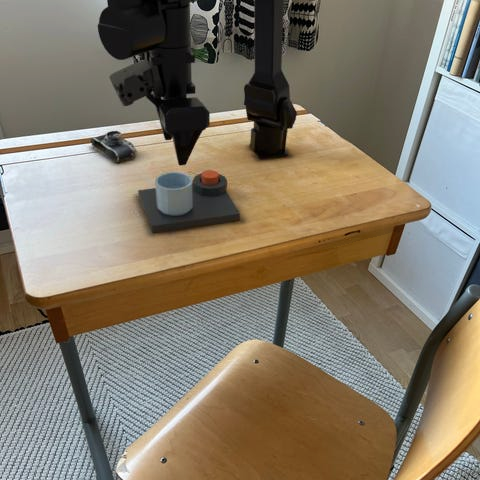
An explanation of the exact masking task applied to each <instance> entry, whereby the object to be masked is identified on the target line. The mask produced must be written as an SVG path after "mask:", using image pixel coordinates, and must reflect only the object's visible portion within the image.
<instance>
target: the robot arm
mask: <svg viewBox="0 0 480 480" xmlns="http://www.w3.org/2000/svg"><path fill="white" fill-rule="evenodd" d="M198 1H199V0H106V4H107V6H106V7H105V8H104V9H102V11H101V12H100V15H99V19H98V23H97V32H98V36H99V40H100V42H101V45H102V46H103V48H104V49H105V51H106V52H107V53H108V54H109V55H110V56H111V57H112V58H113V59H116V60H118V61H124V60H128V59H130V58H133V57H136V56H139V55H143V54H144V59H143V60H140V61H138V62H134V63H132V64H130V65H127V66H125V67H123V68H121V69H119V70H117V71H114V72H113V73H111V74H110V75H109V77H108V78H109V80H110V83H111V85H112V86H113V89H114V91H115V93H116V95H117V97H118V99H119V102H120V103H121V105H122V107H129V106H131V105H133V104H134V103H135V102H136V101H138V100H141V99H143V98H146V99H147V100H148V101H149V102H150V103H152V104H153V105H154V107H155V110H156V113H157V117H158V120H159V124H160V128H161V131H162V135H163V138H164V140H165V141H171V140H172V143H173V147H174V153H175V156H176V160H177V164H178V166H179V167H180V166H186V165H187V163H188V161H189V159H190V157H191V155H192V153H193V150H194V148H195V147H196V144H197V142H198V140H199V138H200V136H201V135H202V133H203V132H204V131H205V130H206V129H207V128H209V127H210V126H211V125H210V117H211V115H210V111H209V110H208V108H207V106H205V104H204V103H203V102H202V101H201V100H200V99H199V98H198V97H197V96H195V97H187V96H188V95H194V94H196V85H195V84H194V82H193V81H192V80H193V79H192V77H193V76H192V64H195V63H196V54H195V53H194V52H193V51H192V39H191V37H192V36H191V35H192V34H191V33H192V31H191V3H195V2H198ZM284 1H285V0H253V3H254V4H253V14H254V15H253V16H254V17H253V22H254V23H253V25H254V26H253V27H254V28H253V29H254V30H253V31H254V33H253V34H254V37H253V39H254V72H253V74H252V76H251V77H250V78H249V81H248V83H245V85H244V87H243V92H244V101H243V105H244V106H245V113H246V120H247V121H248V122H249V121H250V122H253V127H252V128H251V129H250V140H249V141H250V143H249V148H250V149H251V151H252V152H253V153H254V154H255V155H256V157H257V158H258V159H260V160H263V159H264V160H265V159H272V158H273V159H274V158H281V157H288V156H289V152H288V151H287V150H286V147H287V146H286V145H287V137H288V130H289V129H291V130H292V129H293V128H294V125H295V124H296V120H297V115H298V112H297V109H296V108H295V106H294V104H293V103H292V101H291V95H290V94H291V93H290V84H289V81H288V80H287V77H286V76H285V74H284V73H283V70H282V67H283V66H282V61H283V31H284V5H285V4H284Z"/></svg>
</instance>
